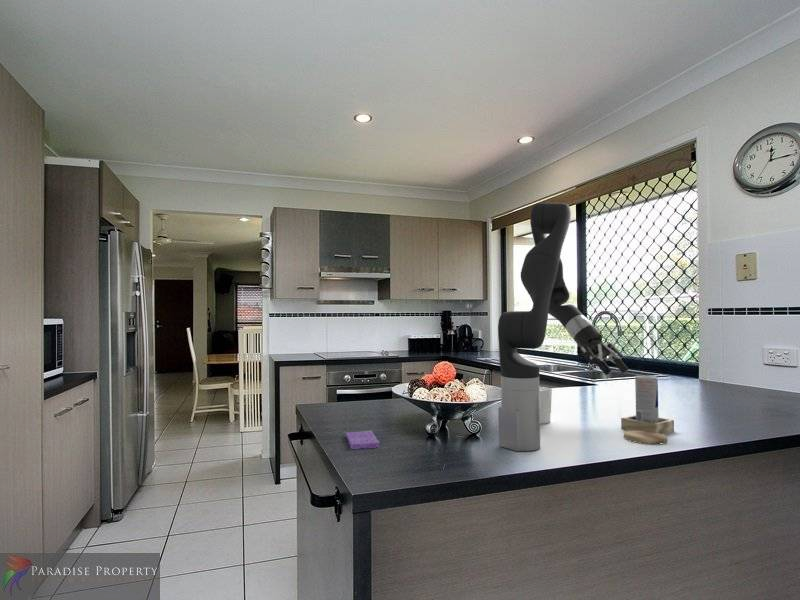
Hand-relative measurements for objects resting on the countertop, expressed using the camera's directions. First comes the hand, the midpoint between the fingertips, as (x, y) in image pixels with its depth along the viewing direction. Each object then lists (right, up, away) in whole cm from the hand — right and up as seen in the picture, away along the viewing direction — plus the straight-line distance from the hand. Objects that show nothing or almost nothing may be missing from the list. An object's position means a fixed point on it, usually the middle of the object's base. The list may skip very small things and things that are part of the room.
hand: (617, 372), depth 139 cm
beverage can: (+5, -15, -8) cm, 18 cm away
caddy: (+5, -15, -8) cm, 18 cm away
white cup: (-23, -16, +3) cm, 28 cm away
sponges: (-74, -16, -19) cm, 78 cm away
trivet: (-1, -15, -17) cm, 23 cm away
